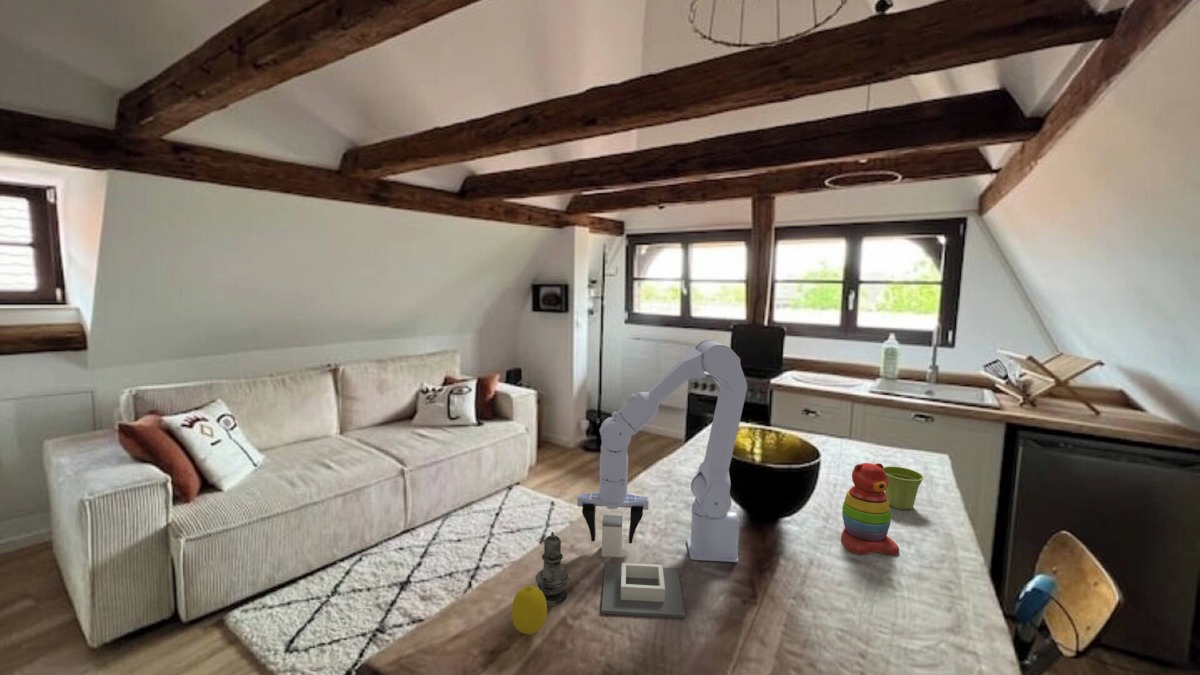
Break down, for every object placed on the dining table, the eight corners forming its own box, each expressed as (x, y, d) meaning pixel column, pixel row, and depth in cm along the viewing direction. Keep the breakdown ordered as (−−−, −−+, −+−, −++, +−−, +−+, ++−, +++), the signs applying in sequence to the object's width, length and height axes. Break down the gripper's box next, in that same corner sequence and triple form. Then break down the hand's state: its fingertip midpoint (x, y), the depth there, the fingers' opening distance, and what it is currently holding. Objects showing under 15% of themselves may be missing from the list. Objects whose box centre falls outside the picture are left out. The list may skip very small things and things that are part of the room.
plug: (621, 547, 107) (622, 515, 106) (621, 557, 103) (622, 524, 102) (602, 546, 107) (603, 514, 106) (601, 556, 103) (602, 523, 102)
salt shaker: (563, 608, 86) (564, 542, 85) (530, 603, 87) (530, 537, 86) (572, 588, 92) (573, 525, 90) (541, 584, 93) (541, 522, 92)
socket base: (677, 571, 98) (678, 556, 98) (684, 618, 84) (685, 601, 84) (605, 567, 99) (605, 552, 99) (601, 613, 85) (601, 596, 85)
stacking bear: (852, 555, 105) (858, 472, 103) (829, 531, 115) (834, 456, 113) (903, 555, 105) (910, 473, 104) (876, 532, 115) (882, 456, 114)
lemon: (513, 623, 82) (513, 576, 81) (547, 621, 83) (547, 575, 82) (510, 647, 77) (510, 597, 76) (546, 645, 77) (547, 596, 76)
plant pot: (921, 503, 132) (923, 471, 131) (920, 516, 124) (924, 482, 123) (880, 494, 136) (882, 463, 136) (877, 507, 129) (880, 474, 128)
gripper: (576, 482, 100) (574, 547, 101) (649, 486, 99) (647, 552, 100) (579, 469, 107) (578, 530, 108) (648, 472, 106) (646, 534, 107)
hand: (611, 539), depth 105 cm, fingers open, 7 cm apart
